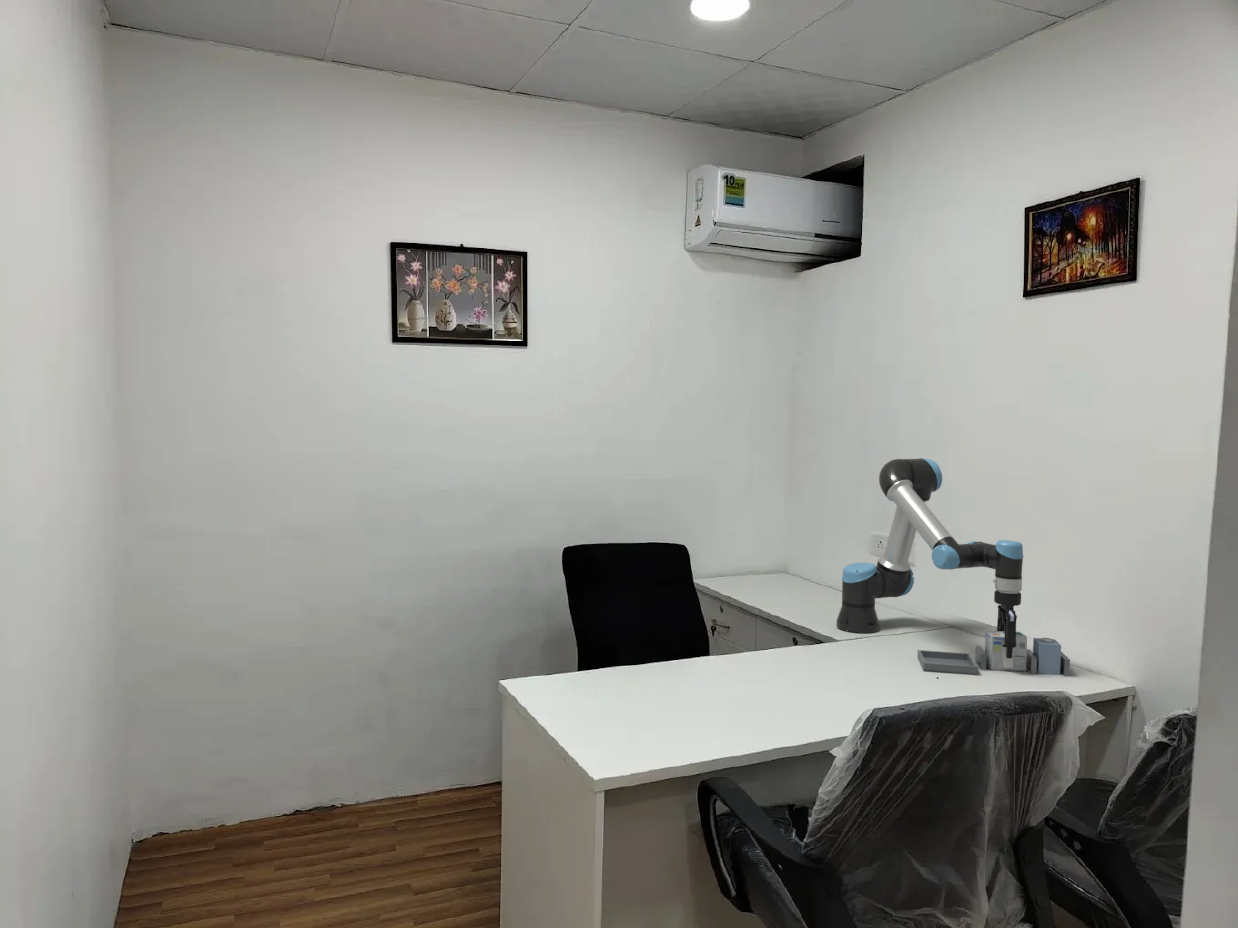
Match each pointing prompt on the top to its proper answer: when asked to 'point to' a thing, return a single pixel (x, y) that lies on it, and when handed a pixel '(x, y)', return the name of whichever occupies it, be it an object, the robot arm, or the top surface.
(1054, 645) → the cartridge
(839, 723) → the top surface
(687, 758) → the top surface
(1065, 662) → the rack
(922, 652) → the tray
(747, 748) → the top surface
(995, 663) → the light bulb box
